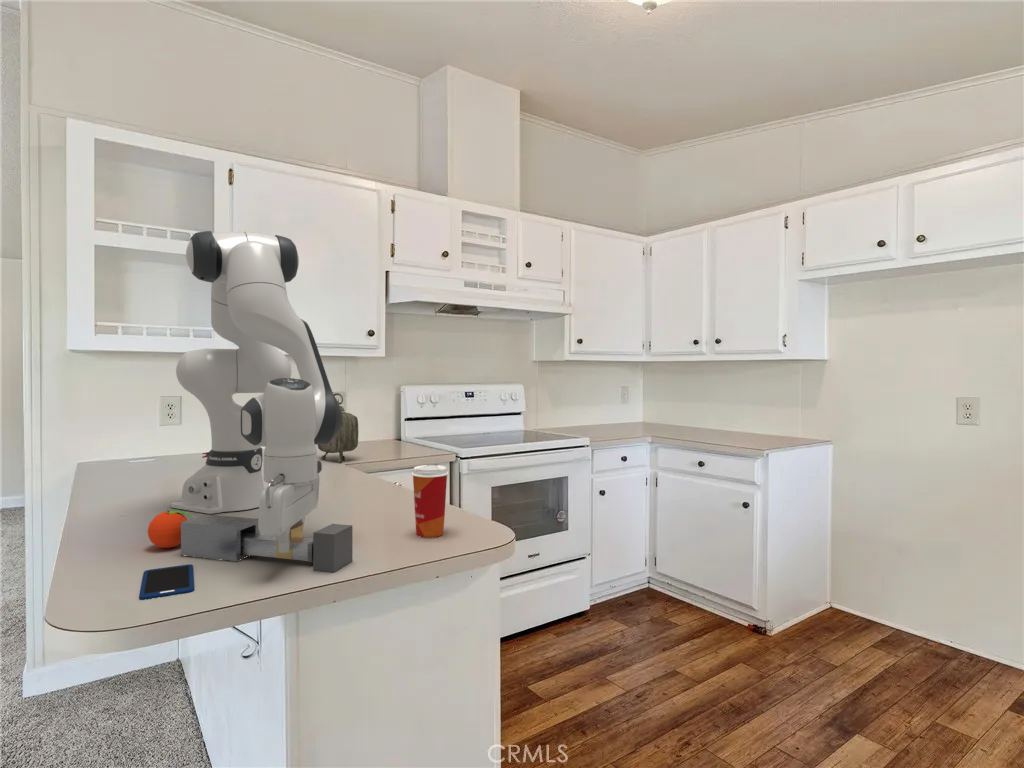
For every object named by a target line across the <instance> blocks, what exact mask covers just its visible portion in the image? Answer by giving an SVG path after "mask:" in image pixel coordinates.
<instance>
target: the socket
mask: <svg viewBox="0 0 1024 768" xmlns="http://www.w3.org/2000/svg"><path fill="white" fill-rule="evenodd" d="M312 535H313V536H312V537H313V538H312V539H313V561H312V563H313V564H312V567H313V568H312V569H313V570H312V571H315V572H316V571H319V572H326V573H336V572H337V571H339V570H340V569H342V568H344V567H345V566H347V565H349V564H350V563H352V562H353V525H352V524H342V523H331V524H328V525H327V526H325V527H322V528H320V529H318V530H315V531H314V532H313V533H312Z"/></svg>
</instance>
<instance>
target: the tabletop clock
mask: <svg viewBox="0 0 1024 768" xmlns="http://www.w3.org/2000/svg"><path fill="white" fill-rule="evenodd" d="M333 394H334V396H335V397H336V396H339V397H340V398H341V402H340V401H339V400H337V402H338V404H339V406H340V409H341V412H342V418H343V423H342V428H341V430H340V432H339V433H338V434H337V436H336V437H335V438H334V439H333V440H332V441H330V442H329V443H328V444H326V445H317V448H318V450H319V451H321V452H323V453H325V454H323V455H322V456H321V460H323V461H324V460H326V459H327V456H328V454H337V453H338V454H339V458H338V459H337V463H338V464H341V463H343V461H345V459H346V457H345V455H344V454H343V453H347V452H352V451H354V450H355V449H356V448H358V444H359V420H358V417H357V416H356V415H354V414H352V413H350V412H345V411H346V410H345V408H344V407H343V406H342V404H343V402H344V397H343V395H342V394H341V393H338V392H337V393H333Z"/></svg>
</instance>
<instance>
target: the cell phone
mask: <svg viewBox="0 0 1024 768" xmlns="http://www.w3.org/2000/svg"><path fill="white" fill-rule="evenodd" d="M194 572H195V571H194V564H191V563H190V564H189V563H188V564H181V565H180V564H179V565H176V566H175V565H174V566H168V567H166V566H165V567H160V568H159V567H157V568H152V569H146V570H144V571H143V574H142V579H141V584H140V590H139V595H138V596H139V597H138V598H139V601H147V600H152V598H154V599H157V598H158V597H160V598H166V597H172V595H173V596H178V594H179V595H185V594H189V593H193V592H195V574H194ZM145 599H146V600H145ZM158 599H159V598H158Z"/></svg>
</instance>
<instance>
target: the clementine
mask: <svg viewBox="0 0 1024 768" xmlns="http://www.w3.org/2000/svg"><path fill="white" fill-rule="evenodd" d="M184 514H185V515H187V516H190V517H191V519H193V518H194V516H193V515H191V514H190V513H188V512H185V511H182V510H167V511H163V512H160V513H158V514H157V515H155V516H154V518H153V519H152V520H151V521H150V522H149V525H148V527H147V536H148V539H149V540H150V542H151V543H152V544H153V545H154V546H156V547H158V548H161V549H172V548H174V547H177V546H178V545H179V546H180V545H181V522H184V521H187V520H188V518H187V517H186V516H185V515H184Z"/></svg>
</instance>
